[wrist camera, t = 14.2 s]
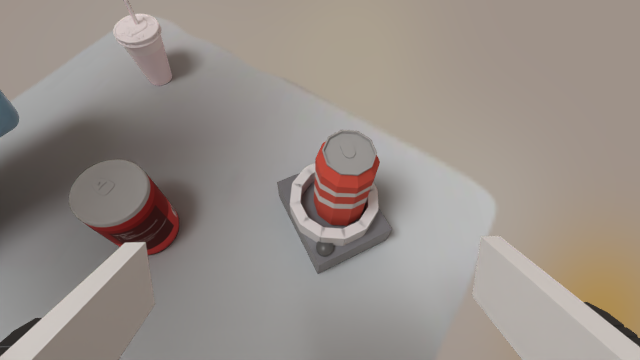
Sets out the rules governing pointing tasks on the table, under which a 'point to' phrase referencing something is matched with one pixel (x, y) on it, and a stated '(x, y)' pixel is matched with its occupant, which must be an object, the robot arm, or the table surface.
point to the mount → (318, 235)
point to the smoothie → (144, 45)
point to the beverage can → (344, 176)
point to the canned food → (124, 205)
